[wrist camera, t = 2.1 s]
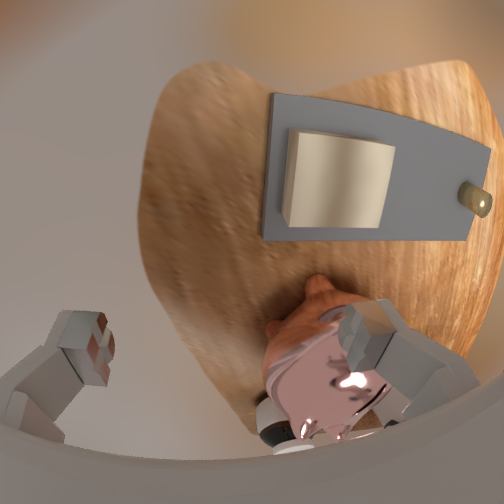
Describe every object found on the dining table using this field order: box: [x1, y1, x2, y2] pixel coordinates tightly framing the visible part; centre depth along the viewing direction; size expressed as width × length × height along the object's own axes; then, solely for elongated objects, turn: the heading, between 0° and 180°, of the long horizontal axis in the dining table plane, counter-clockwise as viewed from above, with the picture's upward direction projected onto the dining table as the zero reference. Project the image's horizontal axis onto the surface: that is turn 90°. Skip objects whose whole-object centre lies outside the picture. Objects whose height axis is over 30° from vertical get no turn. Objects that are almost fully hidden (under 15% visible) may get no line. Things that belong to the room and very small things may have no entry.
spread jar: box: [255, 394, 316, 455], centre depth 42 cm, size 12×11×12 cm
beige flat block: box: [281, 128, 395, 228], centre depth 24 cm, size 9×8×3 cm
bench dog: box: [457, 181, 492, 218], centre depth 26 cm, size 3×3×4 cm
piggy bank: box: [262, 274, 393, 442], centre depth 30 cm, size 15×18×16 cm
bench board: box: [261, 93, 491, 241], centre depth 27 cm, size 30×14×2 cm, turn 87°
